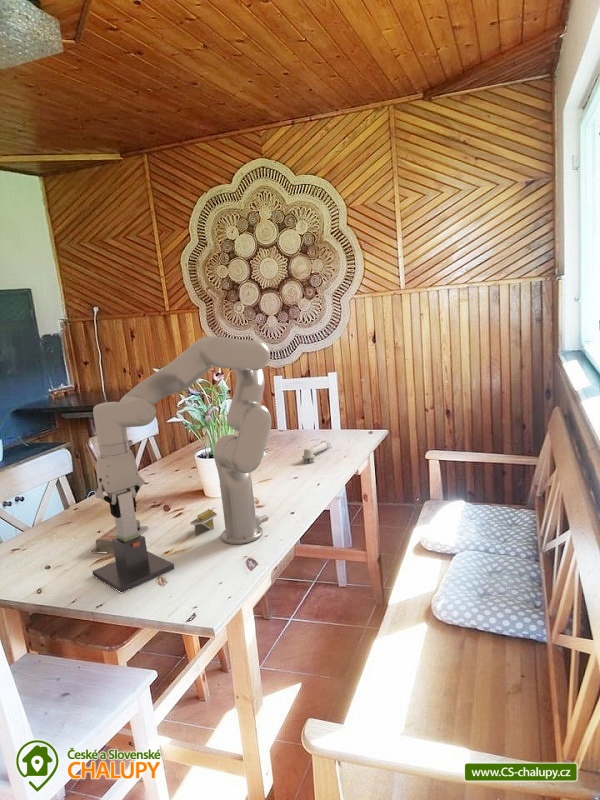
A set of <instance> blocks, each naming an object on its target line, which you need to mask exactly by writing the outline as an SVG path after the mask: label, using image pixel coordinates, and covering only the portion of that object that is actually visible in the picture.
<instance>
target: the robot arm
mask: <svg viewBox="0 0 600 800" xmlns="http://www.w3.org/2000/svg"><path fill="white" fill-rule="evenodd" d="M270 352H271V351H270V348H268V345H266V344H265V343H264V342H262V341H260V340H254V339H253V340H251V339H244V338H243V339H241V338H240V339H239V338H233V337H232V338H231V337H225V336H212V335H211V336H210V335H209V336H208V335H207V336H203V337H200V338H199V339H198V340H195V342H194V343H192V344H191V345H190V346H189V347H187V349H186V350H184V351H183V352H182V353H181V354H179V355H178V356H177V357H176V358H174V359H173V360H172V361H170V363H168V364H167V365H165V366H164V367H163V368H160V369H159V370H157V371H156V372H155V373H153V374H151V375H149V376H148V377H147V378H145V379H143V380H142V381H141V382H138V384H137V385H135V386H134V387H133V388H132V389H131V390H129V391H128V392H127V393H125V394H124V395H123V396H122V398H121V399H120V400H119V401H108V402H101V403H98V404H96V405H94V407H93V408H92V410H93V411H92V413H93V420H94V426H95V432H96V437H97V445H98V451H99V456H97V457H96V480H97V487H98V488H97V490H96V492H95V494H94V497H95V498H96V499H98V500H99V499H100V500H103V501H104V502H106V503H108V504H109V508H110V514H111V516H113V518H115V517H116V518H120V512H119V505H118V504H117V503H116V492H119V491H122V490H125V489H126V490H129V491H132V497H133V504H134V510H135V513H136V512H137V500H136V498H137V494H138V492H139V491H140V489H141V488H142V486H143V485H144V484H145V483H146V482H145V480H144V479H143V477H142V476H140V474H139V470H138V465H137V462H136V459H135V455H134V453H133V451H132V450H131V447H130V446H132V445H134V442H133V440H132V439H128V432H127V428H137V427H138V428H139V427H144V426H148V425H149V424H151V423H152V422H153V421H154V420H155V419H156V418H155V417H156V414H157V409H156V407H155V404H157V403H158V402H159V401H161V400H163V399H165V398H166V397H169V396H172V395H174V394H179V393H181V392H184V391H186V390H188V389H189V388H190V387H192V386H193V384H195V383H196V382H197V381H198V380H199V379H200V378H202V377H203V376H204V375H205V374H207V372H209V371H210V370H211V369H212V368H221V369H230V370H231V369H232V370H234V372H235V375H236V376H235V377H236V378H235V379H236V383H235V389H234V392H233V394H232V395H233V396H232V398H231V402H230V406H229V409H228V412H227V417H226V421H227V424H228V426H229V428H231V429H232V430H234V431H237V432H238V433H237V435H234V434H225V435H223V436H221V437H220V438H218V439H217V441H216V442H215V444H214V446H213V457H214V458H213V459H214V462H215V467H216V469H217V474H218V479H219V487H220V495H221V504H222V510H223V519H224V527H225V529H224V530H223V531H222V533H221V536H220V537H221V540H222V541H223V542H224V543H226V544H231V545H243V544H247V543H251V542H254V541H256V540H259V538H260V537H261V536H262V535H263V528H262V527H261V526H260V525H262V524H264V523H265V522H267V521H269V516H268V515H267V514H263V515H262V516H259V515H256V509H255V500H254V499H255V497H254V491H253V483H252V482H253V481H252V480H253V479H252V474H251V473H252V472H254V471H256V470H257V468H258V467H259V465H261V462H262V459H263V457H264V453H265V450H266V447H267V444H268V439H269V437H270V433H271V429H272V414H271V413H270V411H269V409H268V408H267V407H266V406H265V405H264V404H262V400H263V395H264V392H265V390H264V389H265V385H266V382H265V375H264V374H265V373H264V371H263V369H264V368H265V367H266V366H267V365H268V364H269V361H270V359H271V354H270ZM104 493H106V495H105V494H104Z"/></svg>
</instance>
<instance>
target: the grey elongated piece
mask: <svg viewBox="0 0 600 800" xmlns="http://www.w3.org/2000/svg"><path fill="white" fill-rule="evenodd" d="M330 447H331V442H330V441H329V440H321V441H320V442H319V443H317V444H316V445H314V446H311V447H309V448H304V449H303V455H302V456H301V457H302V459H303V461H302V462H303V464H310V463H315V458H316V455H317V454H319V453H321V452H323V451H328V449H330Z"/></svg>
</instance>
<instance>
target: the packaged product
mask: <svg viewBox="0 0 600 800" xmlns="http://www.w3.org/2000/svg"><path fill="white" fill-rule="evenodd" d="M140 521H141V520H139V519H136V523H137V530H138V533H139V535H142V534H143V533H144V532H145V533H147V531H149V526H148V525H143V526H141V522H140ZM145 533H144V534H145ZM144 534H143V535H144ZM143 535H142V536H143ZM116 538H117V529H116V525H115V526H114V527H112V528H111V529H110V530H108V531H107V532H105V533H103V535H101V536H99V537H98V538H97V539H96V540H95V547H94V548H91V550H90V551H91V552H107V553H106V554H110V553H114V549H113V543H112V540H113V539H116ZM91 552H90V553H91Z"/></svg>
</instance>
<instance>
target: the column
mask: <svg viewBox="0 0 600 800" xmlns="http://www.w3.org/2000/svg"><path fill="white" fill-rule="evenodd" d="M116 503H117V504H118V505H119V512H120V518H116V517H114V522H115V526H116V529H117V538H118V541H120V542H122V543H124V544H126V543H128V542H131V541H133V540H136V539H138V538H139V533H138V530H137V523H136V520H137V519H136V512H135V510H134V504H133V497H132V491H129V490H126V489H125V490H122V491H119V492H116Z"/></svg>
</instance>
